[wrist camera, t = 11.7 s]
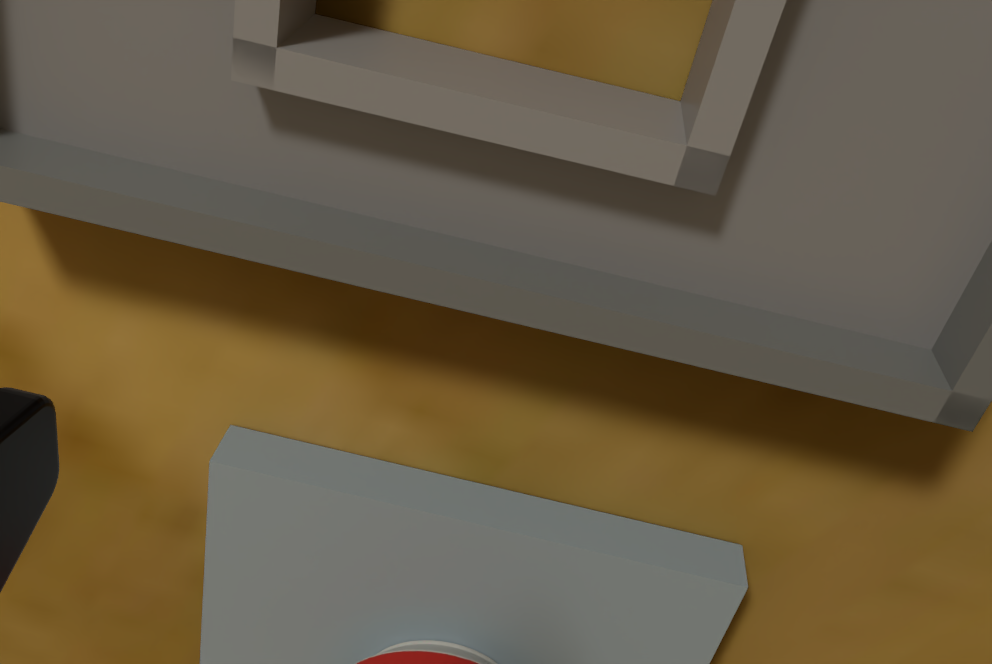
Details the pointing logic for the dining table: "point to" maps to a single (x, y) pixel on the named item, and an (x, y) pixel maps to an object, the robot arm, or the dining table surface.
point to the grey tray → (556, 176)
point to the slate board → (441, 567)
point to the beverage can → (428, 654)
